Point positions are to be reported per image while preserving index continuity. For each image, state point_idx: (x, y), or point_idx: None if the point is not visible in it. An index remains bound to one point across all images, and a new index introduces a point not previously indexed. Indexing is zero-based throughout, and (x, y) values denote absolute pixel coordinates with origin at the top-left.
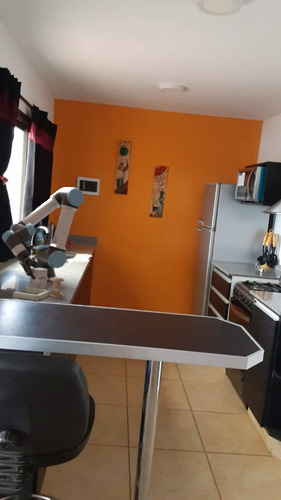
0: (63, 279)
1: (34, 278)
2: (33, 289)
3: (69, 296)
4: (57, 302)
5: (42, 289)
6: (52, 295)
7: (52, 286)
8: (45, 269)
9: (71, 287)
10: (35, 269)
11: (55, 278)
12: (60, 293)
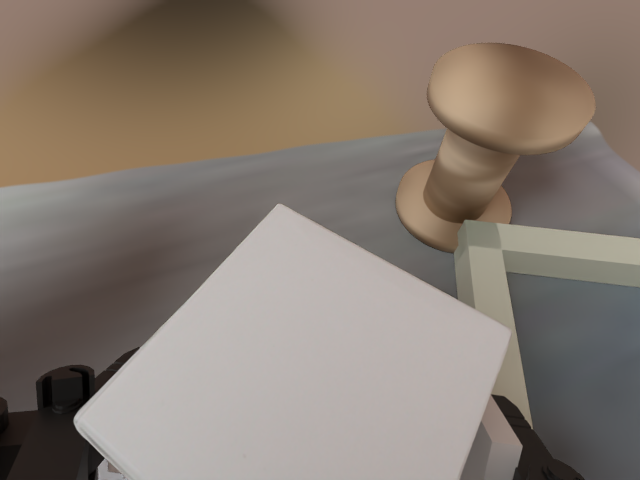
0: (490, 43)
1: (507, 409)
2: (524, 399)
3: (408, 137)
4: (603, 153)
5: (481, 299)
6: (509, 207)
7: (499, 177)
8: (304, 227)
9: (109, 188)
10: (480, 419)
11: (513, 95)
12: (417, 177)
